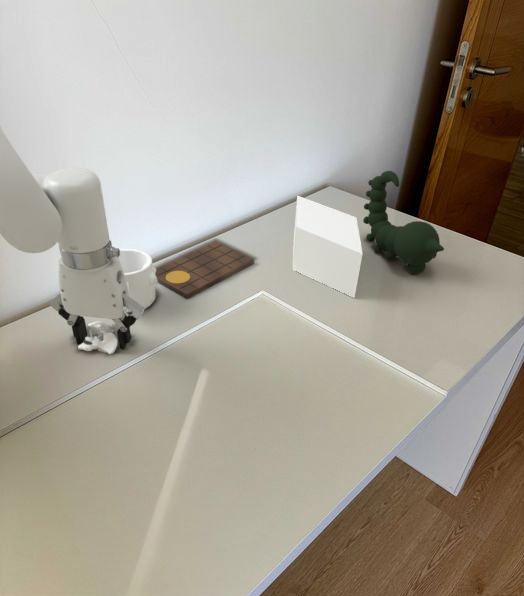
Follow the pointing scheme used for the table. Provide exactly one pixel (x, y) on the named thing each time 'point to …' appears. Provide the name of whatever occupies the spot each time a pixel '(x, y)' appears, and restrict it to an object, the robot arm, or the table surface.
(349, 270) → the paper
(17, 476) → the table surface
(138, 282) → the mug
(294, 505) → the table surface
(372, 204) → the toy figurine
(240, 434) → the table surface
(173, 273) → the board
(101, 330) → the crumpled tissue wad
